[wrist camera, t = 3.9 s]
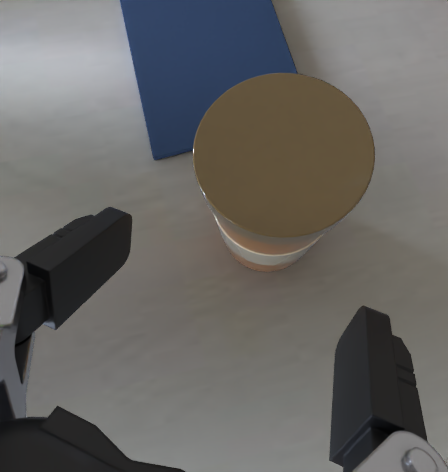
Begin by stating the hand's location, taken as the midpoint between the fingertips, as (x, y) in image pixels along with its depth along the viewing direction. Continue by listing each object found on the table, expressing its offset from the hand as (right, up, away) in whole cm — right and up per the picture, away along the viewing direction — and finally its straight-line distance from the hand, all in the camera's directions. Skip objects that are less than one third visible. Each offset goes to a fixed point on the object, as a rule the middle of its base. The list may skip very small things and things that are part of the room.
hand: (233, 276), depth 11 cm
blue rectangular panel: (-2, +17, +14) cm, 22 cm away
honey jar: (+2, +2, +10) cm, 10 cm away
